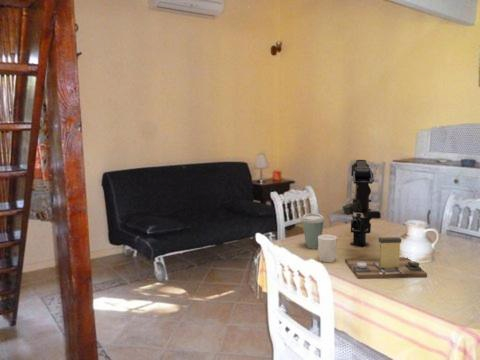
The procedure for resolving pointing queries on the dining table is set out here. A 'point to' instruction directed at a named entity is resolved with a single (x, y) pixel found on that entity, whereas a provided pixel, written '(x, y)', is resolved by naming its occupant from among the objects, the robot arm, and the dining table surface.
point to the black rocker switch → (413, 263)
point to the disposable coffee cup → (312, 228)
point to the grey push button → (362, 265)
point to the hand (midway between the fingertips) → (361, 233)
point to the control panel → (377, 272)
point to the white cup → (327, 247)
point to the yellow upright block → (389, 253)
